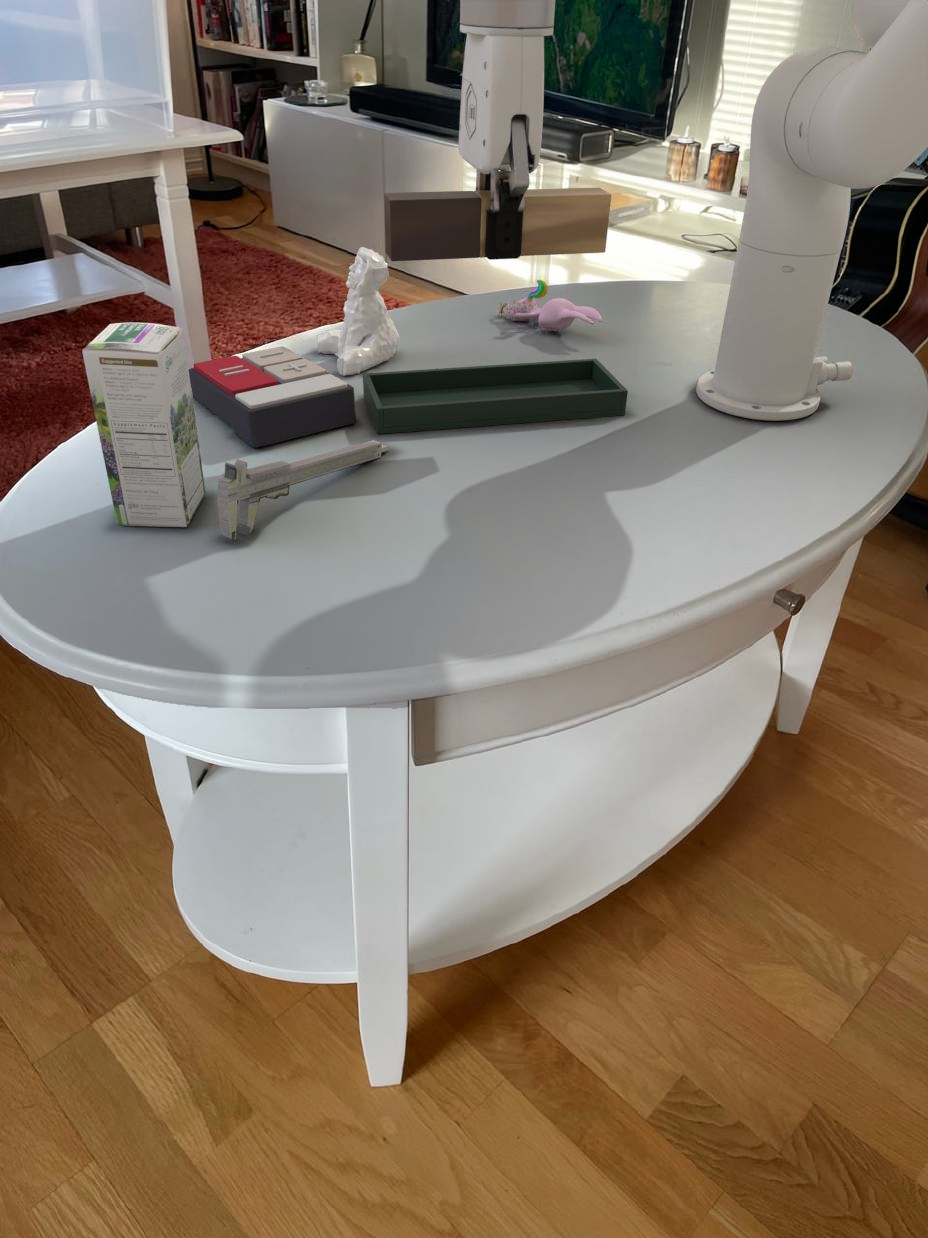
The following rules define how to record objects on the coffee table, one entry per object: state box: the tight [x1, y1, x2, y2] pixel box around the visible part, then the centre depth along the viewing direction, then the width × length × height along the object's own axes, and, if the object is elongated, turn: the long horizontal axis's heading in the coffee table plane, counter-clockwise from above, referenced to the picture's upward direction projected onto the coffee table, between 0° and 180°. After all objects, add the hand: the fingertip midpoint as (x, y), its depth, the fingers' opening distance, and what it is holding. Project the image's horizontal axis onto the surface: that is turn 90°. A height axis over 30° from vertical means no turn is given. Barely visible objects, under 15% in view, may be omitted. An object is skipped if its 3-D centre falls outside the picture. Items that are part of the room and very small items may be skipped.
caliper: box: [216, 439, 391, 541], centre depth 77 cm, size 20×1×6 cm, turn 147°
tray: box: [362, 358, 629, 435], centre depth 94 cm, size 25×9×3 cm, turn 103°
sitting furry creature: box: [316, 246, 401, 377], centre depth 102 cm, size 10×9×12 cm
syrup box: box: [81, 322, 206, 528], centre depth 72 cm, size 6×6×14 cm
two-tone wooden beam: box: [383, 187, 612, 262], centre depth 83 cm, size 3×20×5 cm, turn 104°
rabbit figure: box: [498, 279, 603, 332], centre depth 113 cm, size 6×6×15 cm
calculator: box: [188, 346, 357, 449], centre depth 92 cm, size 11×4×15 cm
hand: (497, 250), depth 84 cm, fingers closed on two-tone wooden beam, 3 cm apart
